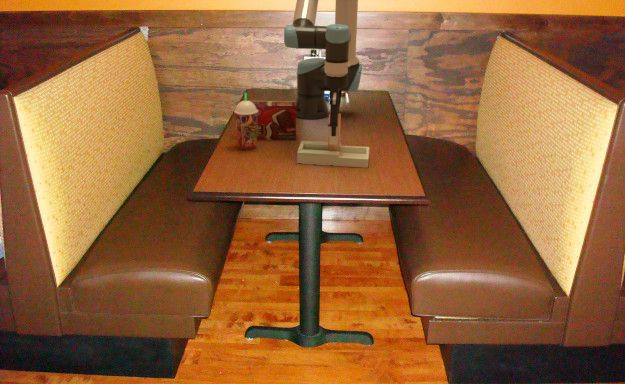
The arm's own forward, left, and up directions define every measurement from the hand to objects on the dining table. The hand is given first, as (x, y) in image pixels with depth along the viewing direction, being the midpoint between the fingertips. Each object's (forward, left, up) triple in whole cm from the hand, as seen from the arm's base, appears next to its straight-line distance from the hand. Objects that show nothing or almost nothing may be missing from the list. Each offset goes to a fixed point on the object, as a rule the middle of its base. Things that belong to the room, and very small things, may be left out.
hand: (333, 141), depth 199 cm
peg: (0, 0, -5) cm, 5 cm away
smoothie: (-7, -32, -7) cm, 33 cm away
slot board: (0, 0, -6) cm, 6 cm away
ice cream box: (-19, -26, -7) cm, 33 cm away
